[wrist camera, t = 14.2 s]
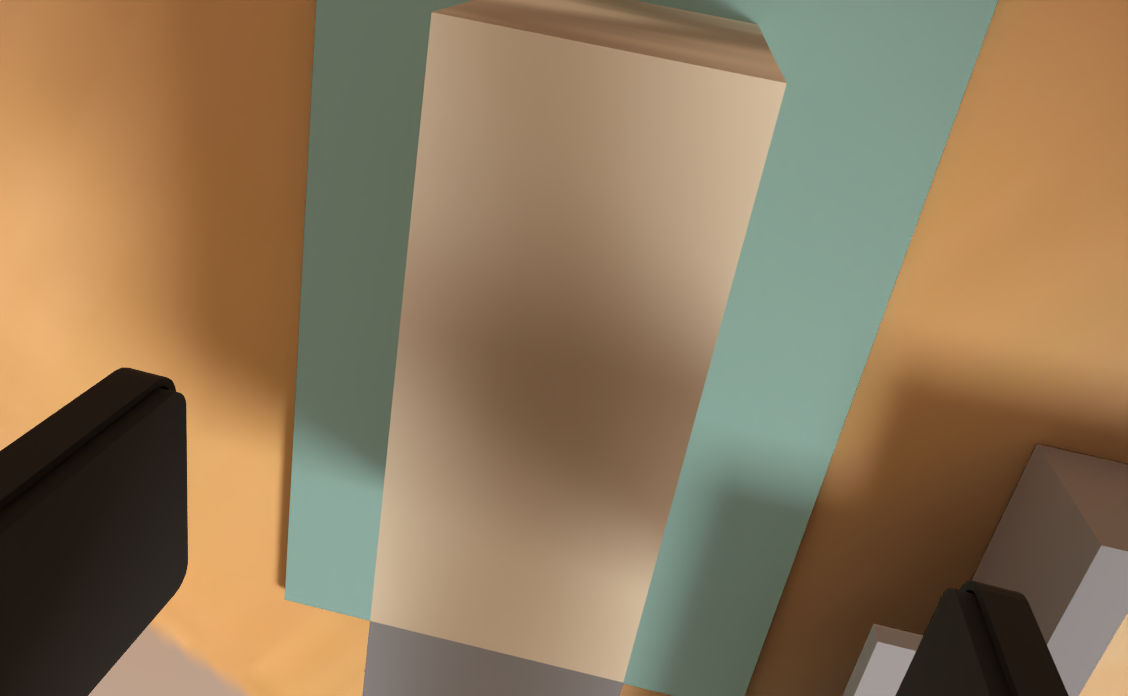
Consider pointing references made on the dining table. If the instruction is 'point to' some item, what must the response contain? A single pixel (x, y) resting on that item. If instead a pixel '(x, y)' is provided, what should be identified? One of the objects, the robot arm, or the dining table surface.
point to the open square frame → (1042, 569)
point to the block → (556, 332)
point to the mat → (748, 329)
